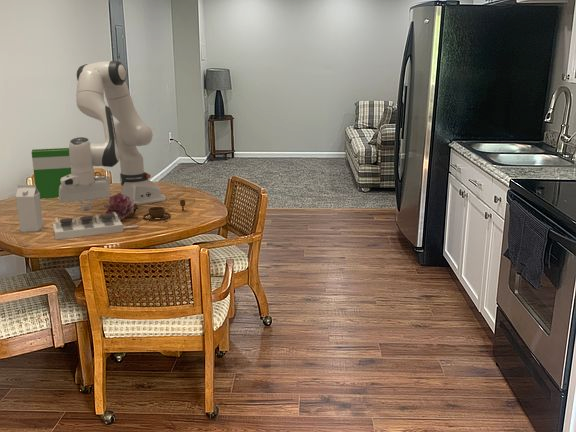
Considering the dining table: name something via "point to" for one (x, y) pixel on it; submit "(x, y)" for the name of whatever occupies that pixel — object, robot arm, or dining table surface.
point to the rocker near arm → (106, 216)
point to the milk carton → (29, 208)
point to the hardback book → (50, 170)
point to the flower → (121, 206)
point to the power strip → (88, 227)
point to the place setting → (160, 212)
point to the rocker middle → (86, 218)
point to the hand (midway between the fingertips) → (86, 210)
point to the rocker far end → (66, 220)
